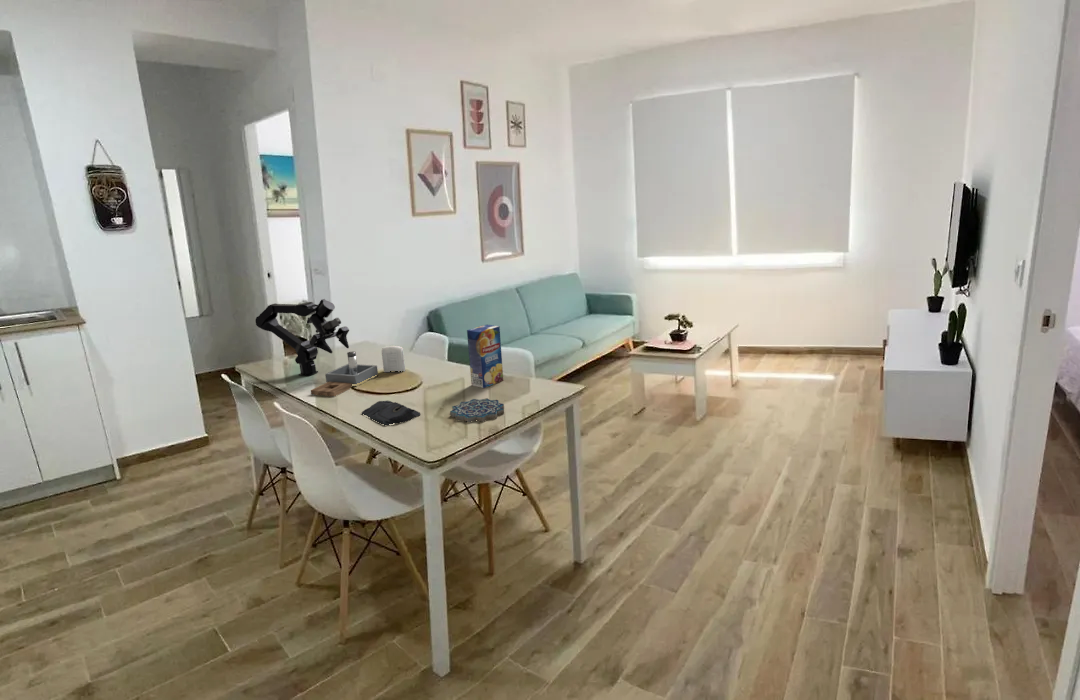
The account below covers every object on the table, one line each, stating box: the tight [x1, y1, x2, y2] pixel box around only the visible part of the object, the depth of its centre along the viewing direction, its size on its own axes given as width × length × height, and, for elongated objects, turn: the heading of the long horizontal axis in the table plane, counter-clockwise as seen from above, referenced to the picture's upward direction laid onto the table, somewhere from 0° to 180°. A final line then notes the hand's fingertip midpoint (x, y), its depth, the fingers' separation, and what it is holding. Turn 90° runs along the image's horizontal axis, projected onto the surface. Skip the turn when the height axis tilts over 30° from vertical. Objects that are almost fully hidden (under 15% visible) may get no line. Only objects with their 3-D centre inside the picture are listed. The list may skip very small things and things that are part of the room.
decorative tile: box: [449, 397, 505, 423], centre depth 229 cm, size 20×20×2 cm
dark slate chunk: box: [361, 400, 421, 425], centre depth 231 cm, size 15×22×5 cm
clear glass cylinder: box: [346, 351, 358, 375], centre depth 275 cm, size 4×4×12 cm
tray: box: [324, 363, 379, 384], centre depth 277 cm, size 16×16×5 cm
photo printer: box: [381, 345, 406, 373], centre depth 286 cm, size 10×4×12 cm, turn 85°
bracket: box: [310, 381, 353, 397], centre depth 263 cm, size 12×12×2 cm
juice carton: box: [466, 324, 504, 389], centre depth 260 cm, size 12×8×24 cm, turn 140°
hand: (340, 350), depth 277 cm, fingers open, 9 cm apart
